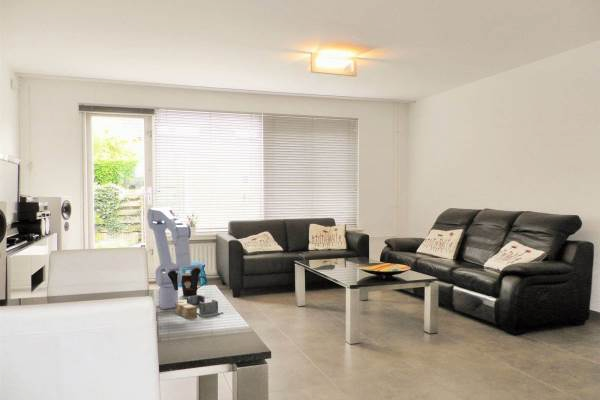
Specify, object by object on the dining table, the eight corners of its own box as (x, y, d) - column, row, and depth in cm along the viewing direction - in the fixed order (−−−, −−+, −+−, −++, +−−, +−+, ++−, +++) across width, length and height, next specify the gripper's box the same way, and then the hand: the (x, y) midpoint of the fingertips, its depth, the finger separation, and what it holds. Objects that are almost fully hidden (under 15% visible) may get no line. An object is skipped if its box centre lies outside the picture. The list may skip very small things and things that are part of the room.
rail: (175, 312, 190) (174, 302, 190) (183, 311, 192) (183, 301, 192) (188, 318, 178) (188, 308, 178) (197, 317, 180) (196, 307, 180)
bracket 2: (218, 312, 184) (217, 301, 184) (203, 314, 180) (203, 303, 181) (213, 310, 187) (213, 299, 187) (199, 312, 184) (199, 301, 184)
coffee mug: (176, 295, 224) (176, 274, 224) (189, 292, 231) (188, 272, 231) (195, 297, 218) (195, 276, 218) (207, 294, 226) (207, 273, 226)
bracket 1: (186, 307, 194) (186, 297, 194) (200, 305, 198) (200, 295, 198) (190, 309, 191) (190, 298, 191) (204, 306, 194) (204, 296, 194)
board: (184, 308, 195) (184, 307, 195) (203, 305, 199) (203, 304, 199) (203, 317, 179) (203, 315, 179) (223, 313, 184) (223, 312, 184)
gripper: (168, 255, 179) (171, 291, 177) (203, 252, 187) (206, 286, 186) (162, 257, 184) (165, 291, 183) (196, 253, 193) (199, 286, 191)
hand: (185, 289), depth 185 cm, fingers open, 7 cm apart
